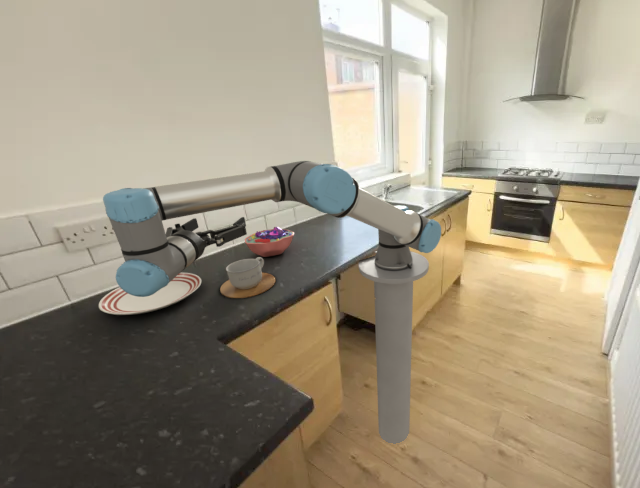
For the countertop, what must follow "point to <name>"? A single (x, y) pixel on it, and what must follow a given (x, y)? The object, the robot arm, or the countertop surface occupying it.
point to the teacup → (245, 272)
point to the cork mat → (261, 287)
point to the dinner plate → (150, 297)
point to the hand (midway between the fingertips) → (220, 222)
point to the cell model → (269, 241)
